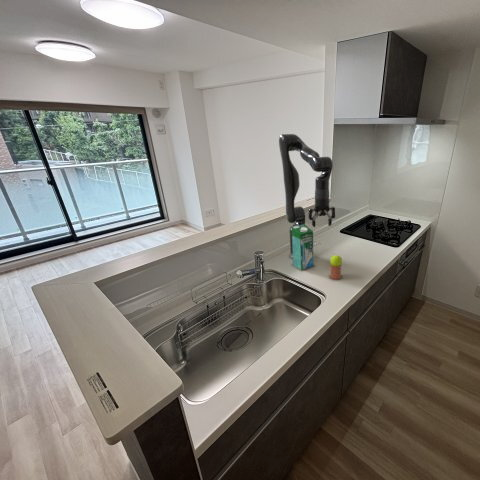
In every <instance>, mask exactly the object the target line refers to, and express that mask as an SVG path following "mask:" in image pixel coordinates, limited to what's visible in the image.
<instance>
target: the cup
mask: <svg viewBox="0 0 480 480" xmlns="http://www.w3.org/2000/svg"><path fill="white" fill-rule="evenodd" d="M329 271H330V272H329V277H330V279H332V280H340V279H341V277H342V264H341V265H340V266H332V265H331V264H330V270H329Z"/></svg>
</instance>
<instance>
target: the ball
mask: <svg viewBox="0 0 480 480" xmlns="http://www.w3.org/2000/svg"><path fill="white" fill-rule="evenodd" d="M342 262H343V259H342V257H341V256H340V255H337V254H334V255H332V256H331V257H330V259H329V264H330V266H331V265H332V266H340V265H341V266H342Z"/></svg>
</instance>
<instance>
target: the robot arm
mask: <svg viewBox="0 0 480 480" xmlns="http://www.w3.org/2000/svg"><path fill="white" fill-rule="evenodd" d="M278 147H279V153H280V158H281V163H282V164H281V165H282V173H283V176H282V177H283V186H284V197H285V217H286V220H287V222H288V223H289V224H292V225H290V227H289V230H288V231H289V251H290V254H289V256H290V258H291V259H293V250H292V227H294V226H298V225H302V224H305V225H306V211H305V208H303V206H299V205H298V206H295V200H296V197H297V194H298V192H299V189H300V183H301V182H300V174H299V171H298V170H297V168H296V167H295V165H294V163H293V162H292V160H291V157H290V152H295V151H296V152H299V156H300V158H301V159H302V160H303V161H305V163H307V164H309V166H310V168H311V169H312V171H314V172H315V173H320V175H318V176H316V177H315V181H314V182H315V183H314V185H315V187H314V188H315V189H314V207H313V208H311V207H309V208H308V219H309V221H311V226H312V227H313V228H316V219H317V218H318V217H325V216H326V217H328V218H327V225H328V226H329V227H331V225H333V224H332V223H333V221H332V220H333V219H335V218H336V207H334V206H332V205H331V206H330V180H331V175H332V171H333V167H334V164H333V159H332V158H331V157H330V156H320V154H319V153H318V152H317V150H315V149H313V148H311V147H310V146H308V145H307V144H306V143H305V142H304V140H303V139H301V138H300V136H298V134H295V133H284V134H280V135H279V137H278ZM329 211H331V214H329ZM313 213H314V214H313Z"/></svg>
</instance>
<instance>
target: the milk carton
mask: <svg viewBox="0 0 480 480" xmlns="http://www.w3.org/2000/svg"><path fill="white" fill-rule="evenodd" d="M292 250H293V258H292V265H293V267H296V268H297V269H298V270H300V271H303V270H306V269H309V268H311V267H314V231H313V230H312V229H311V227H308V226H307V225H306V223H305V224H302V225H298V226H294V227H292Z"/></svg>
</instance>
